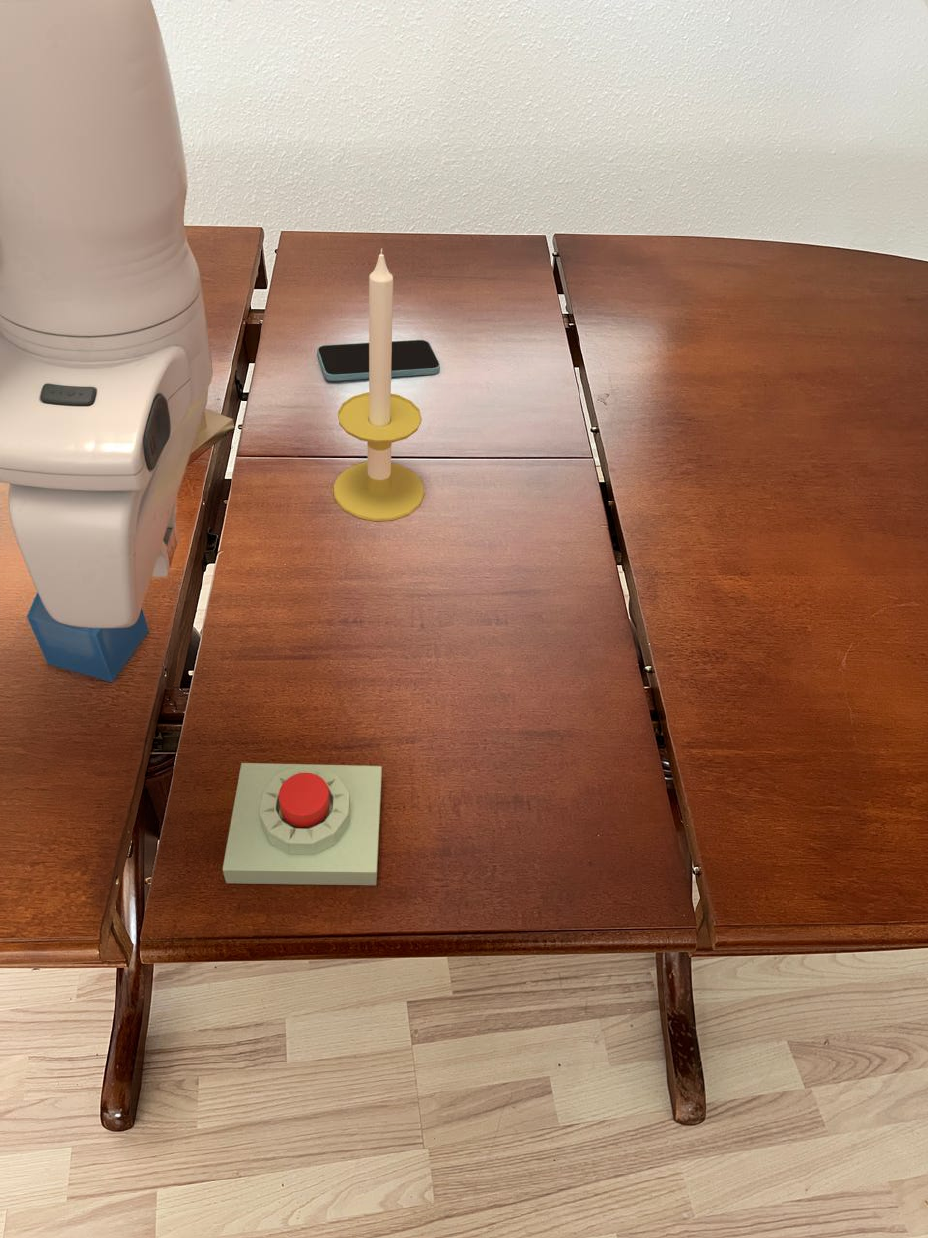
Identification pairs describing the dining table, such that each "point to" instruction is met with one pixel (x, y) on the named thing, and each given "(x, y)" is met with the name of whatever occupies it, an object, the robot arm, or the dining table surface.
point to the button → (304, 799)
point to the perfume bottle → (85, 644)
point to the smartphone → (355, 360)
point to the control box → (305, 829)
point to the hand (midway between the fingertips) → (159, 559)
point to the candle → (379, 423)
